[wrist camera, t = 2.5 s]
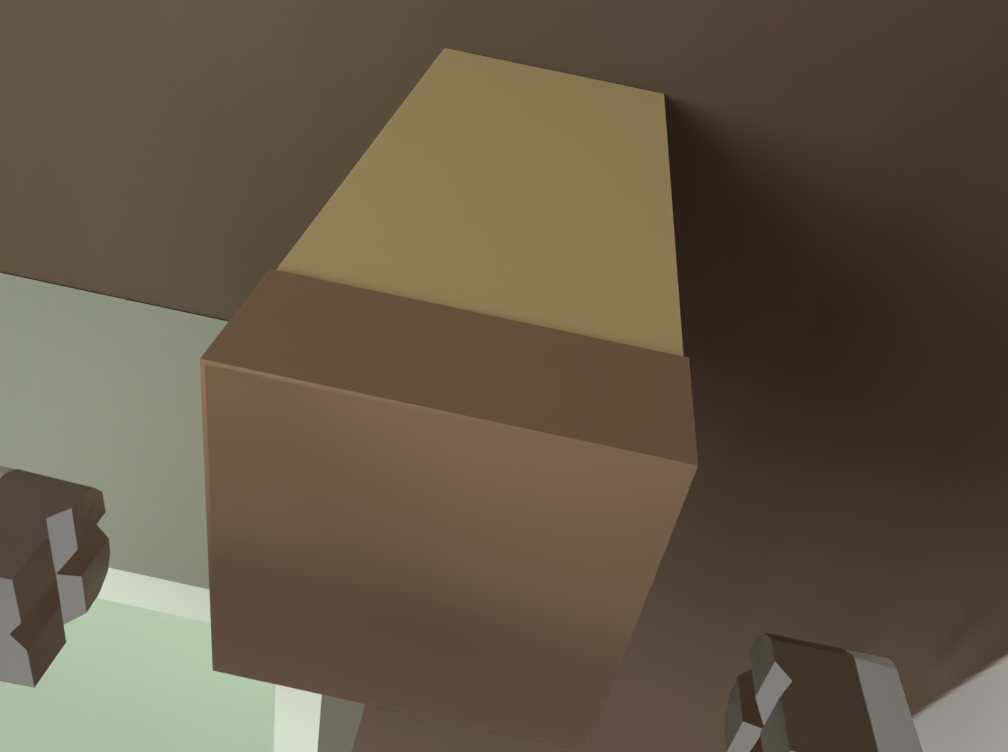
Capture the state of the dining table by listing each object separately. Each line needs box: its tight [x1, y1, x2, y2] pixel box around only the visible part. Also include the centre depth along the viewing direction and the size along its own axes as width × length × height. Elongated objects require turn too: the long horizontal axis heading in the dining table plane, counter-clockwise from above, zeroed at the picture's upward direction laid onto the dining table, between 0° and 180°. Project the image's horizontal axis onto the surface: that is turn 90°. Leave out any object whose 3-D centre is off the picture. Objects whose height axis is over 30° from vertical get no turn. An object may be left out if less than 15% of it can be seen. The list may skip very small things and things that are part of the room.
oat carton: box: [200, 48, 698, 752], centre depth 16 cm, size 5×5×13 cm
